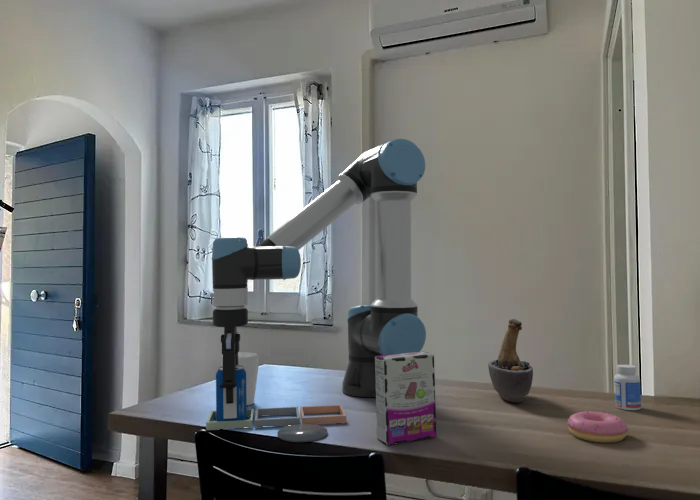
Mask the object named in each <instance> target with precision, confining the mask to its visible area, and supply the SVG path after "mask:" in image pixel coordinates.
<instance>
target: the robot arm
mask: <svg viewBox="0 0 700 500" xmlns="http://www.w3.org/2000/svg"><path fill="white" fill-rule="evenodd" d="M425 171H426V161H425V157H424V154H423V152H422V150H421V149H420V148H419V147H418V146H417V144H415V143H414V142H413V141H411V140H410V139H406V138H395V139H388V140H387V141H385V142H383V143H381V144H379V145H377V146H374V147H371V148H370V149H368V150H366V151H364V152H363V153H362V154H360V156H359V157H357V159H356V160H354V161H353V162H352V163H351V164H350V165H349V166H348V167H347V168H346V169H344V171H342V172H341V173H339V175H337V178H336V182H335V183H333V184H332V185H331V186H330V187H328V188H327V189H325V190H324V192H322V193H321V194H319V195H318V196H317V197H315V199H314V200H312V201H311V202H310V203H308V204H306V206H305V207H303V208H302V209H301V210H300V211H299V212H297V213H296V214H294V215H293V216H292V217H290V219H288V220H287V221H286V222H285V223H284V224H282V225H281V226H279V227H278V228H277V229H276V230H274V231H273V232H272V233H271V234H269V236H267V237H266V238H265V239H264V240H262V241H261V242H260V243H258V244H257V245H256V246H252V245H248V239H247V238H245V237H243V236H242V237H237V236H231V237H229V236H227V237H223V236H221V237H217V238H215V239H214V240H213V243H212V256H211V266H212V267H211V268H212V270H211V271H212V273H211V274H212V292H210V294H209V297H210V298H213V299H212V306H213V307H215V308H214V309H213V310H212V325H213V327H216V328H223V329H224V331H223V333H221V335H220V342H221V356H222V355H223V383H222V385H220V388H223V410H224V419H229V418H237V386H236V365H238V352H240V342H241V333H239V331H238V329H237V327H244V326H247V325H248V323H249V313H248V312H249V310H248V309H247V306H248V305H249V288H248V281H254V280H256V281H258V280H265V281H266V280H284V281H285V280H290V279H296V278H297V277H298V276H299V274H300V272H301V267H302V260H301V253H300V251H299V250H301V249H302V248H303V247H304V246H305V245H307V244H308V243H309V242H310V241H312V240H313V239H314V238H315V237H317V236H318V235H319V234H320V233H321V232H323V231H324V230H325V229H326V228H328V227H329V225H331V224H332V223H334V222H335V221H336V220H337V219H338V218H340V217H341V216H342V215H343V214H344V213H346V212H347V211H348V210H349V209H351V207H353V206H354V205H361V204H363V202H365V201H366V200H367V199H369V198H370V197H371V198H372V199H373V200H374V201H375V203H376V210H375V211H376V298H375V299H374V301H372V303H371V304H368V305H367V304H365V305H356V306H352V307H350V308H349V309H348V312H347V313H348V314H347V341H348V342H347V346H348V349H347V351H348V361H347V362H348V364H347V367H346V370H345V373H344V376H343V379H342V385H341V387H342V389H341V390H342V393H343V394H345V395H349V396H351V397H352V396H353V397H362V398H376V380H375V356H383V355H393V354H402V353H413V352H422V350H423V348H424V346H425V343H426V340H427V331H426V330H427V329H426V327H425V326H426V325H424V322H422V320H421V319H420V317H418V311H419V310H418V304H417V303H416V302H415V301H414V299H413V298H412V201H413V200H414V199H415V198H416V197H417V196H418V182H419V181H420V180H421V179H422V178H423V176H424V174H425ZM227 380H232V381H227Z"/></svg>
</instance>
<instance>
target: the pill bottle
mask: <svg viewBox="0 0 700 500" xmlns="http://www.w3.org/2000/svg"><path fill="white" fill-rule="evenodd" d="M616 371H617V374H615V375H614V377H613V378H614V379H613V380H614V383H613V384H614V401H615V402H614V404H615V407H616V408H617V409H619V410H623V411H640V410H641V409H642V395H641V379H640V377H639V376H638V375H636V373H637V366H636V365H632V364H617V365H616Z"/></svg>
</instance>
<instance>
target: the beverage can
mask: <svg viewBox="0 0 700 500" xmlns="http://www.w3.org/2000/svg"><path fill="white" fill-rule="evenodd" d="M227 381H232V380H227ZM222 383H223V366H222V365H221V366H219V367H217V371H216V373H215V411H216V418H215V419H216V421H237V420H247V409H248V408H247V407H248V406H246V371H245V370H244V366H242V365H236V386H237V418H229V419H224V410H223V388H220V385H222ZM216 421H215V422H216Z"/></svg>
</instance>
